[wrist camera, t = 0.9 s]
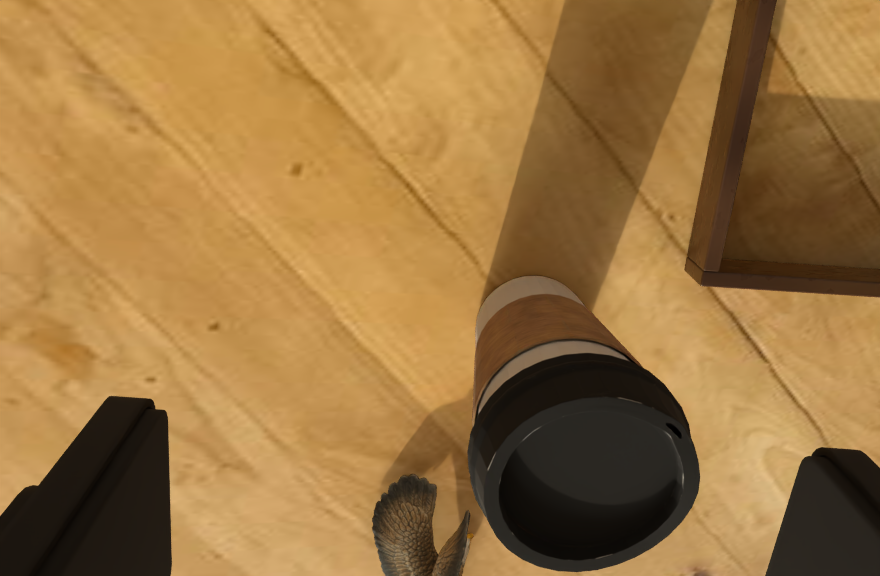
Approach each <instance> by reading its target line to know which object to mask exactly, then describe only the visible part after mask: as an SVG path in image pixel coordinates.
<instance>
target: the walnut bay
mask: <svg viewBox="0 0 880 576" xmlns="http://www.w3.org/2000/svg"><path fill="white" fill-rule="evenodd" d="M776 2H777V0H737V5H736V10H735V15H734V20H733V26H732V31H731V36H730V41H729V46H728V51H727V56H726V61H725V66H724V71H723V76H722V81H721V86H720V92H719V97H718V102H717V107H716V112H715V117H714V122H713V127H712V132H711V137H710V142H709V147H708V152H707V158H706V163H705V168H704V173H703V178H702V183H701V188H700V193H699V198H698V203H697V208H696V213H695V219H694V224H693V229H692V234H691V239H690V244H689V249H688V254H687V256H688V257H687V259H686V264H685V269H684V270H685V271H686V272H687V273H688V274H689V275H690V276H691V277H692V278H693V279H694V280H695V281H696V282H697V283H698V284H699V285H700V286H707V287H723V288H739V289H754V290H770V291H786V292H802V293H818V294H834V295H850V296H866V297H880V269H870V268H855V267H839V266H824V265H809V264H793V263H778V262H762V261H747V260H732V259H722V254H723V250H724V245H725V240H726V236H727V231H728V226H729V222H730V217H731V212H732V208H733V203H734V198H735V194H736V189H737V184H738V180H739V175H740V170H741V165H742V161H743V156H744V151H745V147H746V142H747V137H748V133H749V128H750V123H751V119H752V114H753V109H754V105H755V100H756V95H757V91H758V86H759V81H760V76H761V72H762V67H763V62H764V58H765V53H766V48H767V44H768V39H769V34H770V30H771V25H772V20H773V16H774V11H775V6H776Z"/></svg>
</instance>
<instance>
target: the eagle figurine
mask: <svg viewBox="0 0 880 576" xmlns="http://www.w3.org/2000/svg"><path fill="white" fill-rule="evenodd" d="M436 489H437V488H436V485H435V484H429V482H428V481H427V479H426V478H421V479H418V477H417V476H416V475H414V474H411V475H410V476H409V477H407V476H405V475H403V476H401V477H400V479H399V481H398V482H397V483H395V482H394V483H392V484H391V485H390V487H389V490H388V494H386V493H383V494H382V495H381V501H378V502H377V503H376V507H375V510H374V516H373V518H372V522H373V527H372V530H373V533H374V535H375V537H374V539H375V544H376V547H377V548H378V554H379V559H380V561H381V563H382V564H381V567H382V570H383V572H384V574H385V576H462V573H463V567H464V564H465V560H466V557H467V555H468V552H469V547H470V541H471V539H472V538H473V537H474V535H473V534H472V533H469V534H468V535H467V531H468V525H469V520H470V513H469V510H467V511H466V513H465V516H464V519H463V521H462V523H461V525H460V526H459V528H458V530H457V531H456V532H455V533H454V535H453V536H452V537H451V538H450V539H449V540H448V541H447V542H446V544H445V545H444V546H443V548H442V549H441V551H440V553H439V555H438V553H437V552H436V550H435V547H434V543H433V529H432V517H433V512H434V508H435V500H436Z"/></svg>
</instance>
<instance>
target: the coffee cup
mask: <svg viewBox="0 0 880 576" xmlns="http://www.w3.org/2000/svg"><path fill="white" fill-rule="evenodd" d="M475 337H476V352H475V366H474V391H473V415H472V426H473V428H472V431H471V434H470V440H469V446H468V467H469V473H470V480H471V485H472V488H473V492H474V495H475V498H476V501H477V502H478V504H479V506H480V508H481V510H482V511H483V513H484V515H485V516H486V518H487V520H488V522H489V524H490V526H491V528H492V529H493V531H494V533H495V535H496V537H497V538H498V539H499V540H500V541H501V542H502V543H503V544H504V546H505V547H506V548H507V549H508V550H510V551H511V552H512V553H514V554H515V555H517V556H518V557H520V558H521V559H523V560H525V561H527V562H529V563H532V564H534V565H536V566H539V567H543V568H547V569H551V570H556V571H568V572H582V571H592V570H598V569H602V568H606V567H610V566H614V565H617V564H620V563H622V562H625V561H627V560H630V559H632V558H635V557H637V556H638V555H640V554H642V553H644V552H646V551H647V550H649V549H651V548H653V547H654V546H655V545H657V544H658V543H659V542H661V541H662V540H663V539H665V538H666V537H667V536H669V535H670V534H671V532H672V531H673V530H674V529H675V528H676V527H677V526H678V525H679V524H680V523H681V522H682V521H683V519H684V518H685V517H686V515H687V514H688V512H689V511H690V509H691V508H692V506H693V504H694V501H695V499H696V496H697V494H698V490H699V482H700V472H699V463H698V458H697V454H696V451H695V447H694V444H693V442H692V439H691V435H690V429H689V424H688V421H687V419H686V417H685V414H684V412H683V409H682V407H681V406H680V404H679V403H678V402H677V400H676V399H675V398H674V396H673V395H672V394H671V392H670V391H669V390H668V389H667V387H666V386H665V385H664V383H662V382H661V381H660V380H659V379H658V378H656V377H655V376H654V375H653V374H652V373H650V372H649V371H648V370H646V369H644V368H643V367H642V366H641V365H640V363H639V362H638V361H637V360H636V359H635V358H634V357H633V356H632V355H631V354H630V353H629V352H628V351H627V349H626V348H625V347H624V346H623V345H622V344H621V343H620V342H619V341H618V340H617V339H616V338H615V337H614V336H613V335H612V334H611V333H610V331H609V330H608V329H607V328H606V327H605V326H604V325H603V324H602V323H601V322H600V321H599V320H598V319H597V318H596V317H595V316H594V315H593V313H591V312H590V311H589V310H588V309H587V308H586V307H585V305H584V304H583V303H582V302H581V301H580V299H579V298H578V297H577V296H576V295H575V294H574V293H573V292H572V291H571V290H570V289H569V288H568V287H566V286H565V285H564V284H562V283H560V282H558V281H556V280H554V279H551V278H548V277H543V276H523V277H519V278H516V279H512V280H510V281H508V282H506V283H504V284H502V285H501V286H499V287H498V288H496V289H495V290H494V291H493V292H492V293H491V294H490V295H489V296H488V297H487V298H486V300H485V301H484V303H483V305H482V306H481V308H480V311H479V313H478V316H477V321H476V328H475Z"/></svg>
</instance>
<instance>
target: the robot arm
mask: <svg viewBox="0 0 880 576" xmlns="http://www.w3.org/2000/svg"><path fill="white" fill-rule="evenodd" d="M171 567H172V556H171V518H170V480H169V442H168V416H167V413H166V411H165V410H156V409H155V405H154V402H153V400H152V399H146V398H132V397H118V396H109V397H108V398H107V399H106V400H105V401H104V402H103V404H102V405H101V406H100V408H99V409H98V410H97V411H96V413H95V414H94V415H93V417H92V418H91V419H90V420H89V422H88V423H87V424H86V426H85V427H84V428H83V429H82V431H81V432H80V433H79V434H78V436H77V437H76V438H75V440H74V441H73V442H72V443H71V445H70V446H69V447H68V449H67V450H66V451H65V452H64V454H63V455H62V456H61V457H60V459H59V460H58V461H57V463H56V464H55V465H54V466H53V468H52V469H51V470H50V472H49V473H48V474H47V475H46V477H45V478H44V479H43V481H42V482H41V483H40V484H39V486H35V485H32V486H29V487H26V488H24V489H23V490H22V491H21V492H20V493H19V494H18V495H17V496H16V497H15V499H14V500H13V501H12V502H11V504H10V505H9V506H8V507H7V509H6V510H5V511H4V512H3V514H2V515H1V516H0V576H170V575H171ZM765 576H880V468H879V467H878V466H877V465H876V464H875V463H874V462H873V461H872V460H871V459H870V458H869V457H868V456H867V455H866V454H865V453H863V452H862V451H860V450H851V449H837V448H824V447H821V448H818V449H816V450H815V451H814V452H813V454H812V456H807V457H805V458H804V459H803V460H802V462H801V464H800V467H799V470H798V473H797V476H796V479H795V483H794V486H793V489H792V492H791V495H790V499H789V502H788V505H787V508H786V511H785V515H784V518H783V521H782V524H781V527H780V531H779V534H778V537H777V540H776V543H775V547H774V550H773V553H772V556H771V559H770V563H769V566H768V569H767V572H766V575H765Z"/></svg>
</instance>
